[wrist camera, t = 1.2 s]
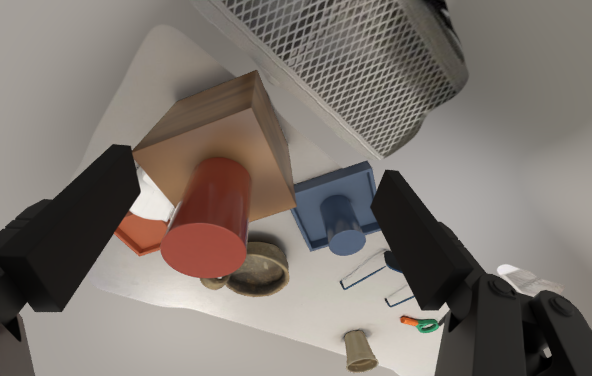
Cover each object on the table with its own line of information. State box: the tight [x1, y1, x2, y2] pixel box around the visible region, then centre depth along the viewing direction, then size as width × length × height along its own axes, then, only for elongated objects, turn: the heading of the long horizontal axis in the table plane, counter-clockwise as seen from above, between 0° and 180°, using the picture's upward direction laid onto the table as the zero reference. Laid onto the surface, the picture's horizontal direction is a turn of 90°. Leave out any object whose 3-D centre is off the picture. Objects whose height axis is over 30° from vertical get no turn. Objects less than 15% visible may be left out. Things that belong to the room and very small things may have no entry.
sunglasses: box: [340, 251, 415, 307], centre depth 63 cm, size 17×15×5 cm
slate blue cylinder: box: [320, 195, 366, 256], centre depth 45 cm, size 6×6×9 cm
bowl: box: [200, 242, 289, 297], centre depth 50 cm, size 14×18×10 cm
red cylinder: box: [160, 157, 252, 278], centre depth 22 cm, size 6×6×9 cm
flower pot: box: [345, 330, 379, 373], centre depth 77 cm, size 9×9×9 cm
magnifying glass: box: [400, 317, 439, 333], centre depth 79 cm, size 15×6×2 cm, turn 57°
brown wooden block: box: [132, 70, 297, 222], centre depth 32 cm, size 12×12×15 cm
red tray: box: [114, 211, 170, 256], centre depth 47 cm, size 9×9×2 cm
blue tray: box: [290, 161, 381, 252], centre depth 48 cm, size 15×15×2 cm
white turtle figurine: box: [129, 167, 174, 222], centre depth 38 cm, size 9×8×15 cm
